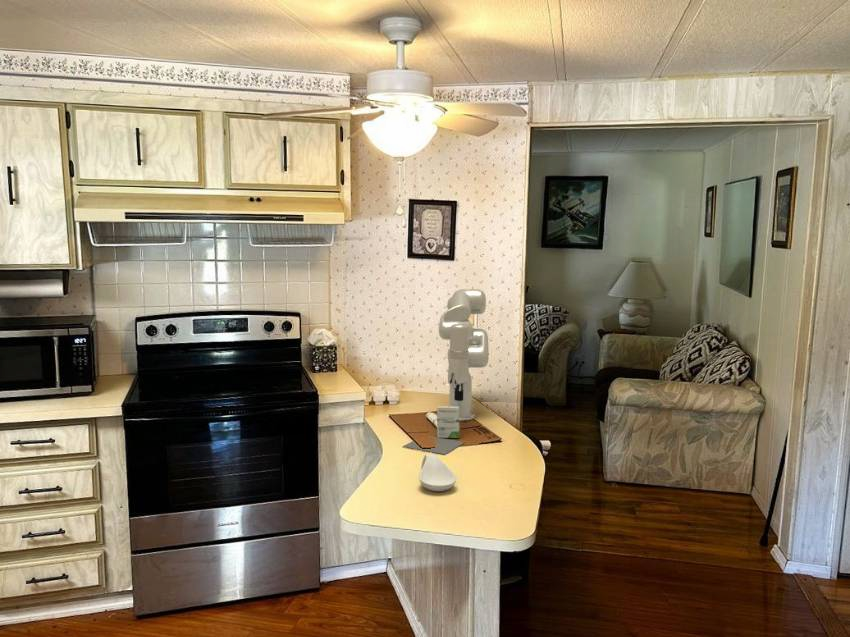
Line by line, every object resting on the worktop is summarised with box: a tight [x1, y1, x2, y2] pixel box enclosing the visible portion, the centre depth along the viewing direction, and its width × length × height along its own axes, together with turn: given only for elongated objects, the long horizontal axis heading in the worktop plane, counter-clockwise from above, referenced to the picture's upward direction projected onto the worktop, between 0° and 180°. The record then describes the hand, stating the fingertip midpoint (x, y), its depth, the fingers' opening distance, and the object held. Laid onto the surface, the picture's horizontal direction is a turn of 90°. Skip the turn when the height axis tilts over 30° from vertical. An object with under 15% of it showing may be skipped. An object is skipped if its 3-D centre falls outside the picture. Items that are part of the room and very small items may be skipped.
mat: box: [402, 435, 466, 456], centre depth 260 cm, size 16×18×1 cm
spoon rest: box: [418, 453, 457, 492], centre depth 223 cm, size 24×12×7 cm, turn 11°
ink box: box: [436, 405, 460, 439], centre depth 270 cm, size 9×5×12 cm, turn 85°
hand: (458, 400), depth 275 cm, fingers closed
